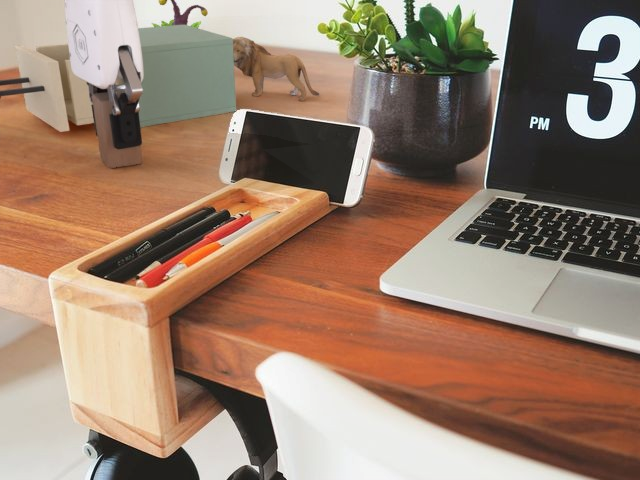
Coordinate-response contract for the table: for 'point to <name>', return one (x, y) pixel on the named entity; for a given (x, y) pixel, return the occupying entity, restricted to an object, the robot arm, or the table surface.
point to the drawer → (52, 86)
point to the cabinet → (185, 74)
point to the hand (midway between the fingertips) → (118, 139)
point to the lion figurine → (268, 66)
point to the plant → (181, 18)
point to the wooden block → (105, 139)
